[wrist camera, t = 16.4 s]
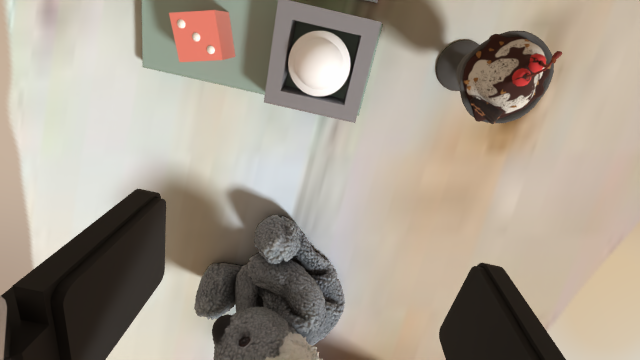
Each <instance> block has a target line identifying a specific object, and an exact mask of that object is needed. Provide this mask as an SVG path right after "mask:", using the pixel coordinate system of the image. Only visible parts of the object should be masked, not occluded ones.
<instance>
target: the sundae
mask: <svg viewBox="0 0 640 360" xmlns="http://www.w3.org/2000/svg"><path fill="white" fill-rule="evenodd" d="M561 55H562V52H561V51H557V52H556V53H555V54H554V55H553V56H552V54H551V52H550V50H549V49H548V47H547V46H546V44H545V43H544V42H543V41H542V40H541V39H539V38H538V37H537V36H535V35H533V34H531V33H528V32H525V31H509V32H505V33H502V34H494V35H492V36H491V37H490V38H489V39H488V40H487V41H485V42H484V43H482V44H481V45H479V44H477V43H476V42H473V41H470V40H461V41H457V42H455V43H453V44H451V45H449V46H448V47H447V48H446V49H445V50H444V51H443V52H442V54H441V55H440V57H439V59H438V62H437V67H436V72H437V77H438V80H439V81H440V83H441V84H442V85H443V86H444V87H445V88H447V89H449V90H452V91H460V93H461V98H462V102H463V104H464V106H465V108H466V110H467V111H468V112H469V114H470V115H472V116H473V117H474V118H475V120H476V121H484V122H487V123H491V124H494V123H506V122H510V121H513V120H516V119H518V118H521V117H522V116H523V115H525V114H526V113H528V112H529V111H530V110H531V109H532V108H533V107H534V106H535V105H536V104H537V103H538V101H539V100H540V99H541V97H542V96H543V95H544V93H545V92H546V90H547V89H548V86H549V84H550V82H551V79H552V76H553V72H554V63H555V62H556V59H557V58H559V57H560V56H561Z"/></svg>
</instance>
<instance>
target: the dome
mask: <svg viewBox="0 0 640 360" xmlns="http://www.w3.org/2000/svg"><path fill="white" fill-rule="evenodd" d="M288 67H289V72H290V76H291V78H292V80H293V82H294V83H295V84H296V86H297V87H298V88H299V89H300V90H302V91H303V92H305V93H307V94H309V95H312V96H327V95H330V94H332V93H334V92H336V91H337V90H339V89H340V88H341V87H342V86H343V84H344V83H345V81H346V80H347V77H348V75H349V72H350V56H349V53H348V50H347V47H346V45H345V44H344V42H343V41H342V40H341V39H340V38H339V37H338V36H336V35H335V34H333V33H331V32H328V31H312V32H309V33H307V34H305V35H303V36H301V37H300V38H299V39H298V40H297V41H296V42H295V44H294V45H293V47H292V49H291V51H290V54H289V60H288Z"/></svg>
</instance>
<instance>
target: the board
mask: <svg viewBox="0 0 640 360" xmlns="http://www.w3.org/2000/svg"><path fill="white" fill-rule="evenodd" d="M207 10H217V11H224V12H229V16H230V23H231V30H232V36H233V43H234V50H235V57H233V58H229V59H225V60H214V61H194V62H179V57H178V53H177V48H176V44H175V39H174V34H173V30H172V25H171V20H170V16H169V13H175V12H191V11H207ZM381 23H382V22H379V21H375V20H371V19H366V18H362V17H358V16H354V15H349V14H345V13H341V12H337V11H333V10H328V9H324V8H320V7H316V6H311V5H307V4H303V3H299V2H295V1H290V0H142V57H143V67H144V68H149V69H153V70H158V71H162V72H166V73H171V74H175V75H180V76H184V77H188V78H193V79H197V80H202V81H206V82H211V83H215V84H219V85H224V86H228V87H233V88H237V89H242V90H246V91H250V92H255V93H259V94H264V95H265V98H264V102H265V103H269V104H274V105H278V106H283V107H287V108H291V109H296V110H300V111H305V112H309V113H314V114H318V115H323V116H327V117H331V118H336V119H340V120H345V121H349V122H354V123H355V121H356V117H357V116H359V112H360V108H361V104H362V101H363V97H364V93H365V89H366V86H367V82H368V78H369V74H370V70H371V67H372V63H373V59H374V55H375V52H376V48H377V44H378V40H379V37H380V33H381V29H382V25H383V24H381ZM312 31H328V32H331V33H333V34H335V35H336V36H338V37H339V38H340V39H341V40H342V41H343V42H344V44H345V45H346V47H347V50H348V53H349V56H350V72H349V75H348V77H347V80H346V81H345V83H344V84H343V86H342V87H341V88H340V89H339V90H337V91H336V92H334V93H332V94H330V95H327V96H312V95H309V94H307V93H305V92H303V91H302V90H300V89H299V88H298V87H297V86H296V84H295V83H294V82H293V80H292V78H291V76H290V72H289V67H288V60H289V54H290V51H291V49H292V47H293V45H294V44H295V42H296V41H297V40H298V39H299V38H300V37H301V36H303V35H305V34H307V33H309V32H312Z"/></svg>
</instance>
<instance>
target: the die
mask: <svg viewBox="0 0 640 360" xmlns="http://www.w3.org/2000/svg"><path fill="white" fill-rule="evenodd" d="M169 16H170V20H171V25H172V30H173V34H174V39H175V44H176V48H177V53H178V57H179V62H194V61H214V60H225V59H229V58H233V57H235V50H234V43H233V36H232V30H231V23H230V16H229V12H224V11H217V10H207V11H191V12H175V13H169Z"/></svg>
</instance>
